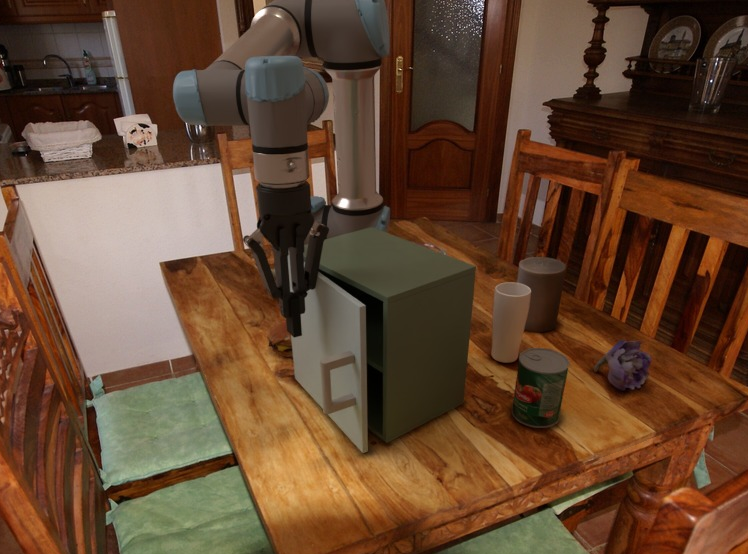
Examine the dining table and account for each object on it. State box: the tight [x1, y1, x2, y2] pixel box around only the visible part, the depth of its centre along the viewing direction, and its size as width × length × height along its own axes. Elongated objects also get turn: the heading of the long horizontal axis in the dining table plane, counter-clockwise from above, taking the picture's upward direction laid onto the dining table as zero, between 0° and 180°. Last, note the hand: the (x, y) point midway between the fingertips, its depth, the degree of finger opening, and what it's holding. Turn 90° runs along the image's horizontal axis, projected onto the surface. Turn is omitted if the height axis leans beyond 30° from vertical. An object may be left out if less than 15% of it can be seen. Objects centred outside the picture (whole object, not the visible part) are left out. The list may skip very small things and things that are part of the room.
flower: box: [593, 339, 652, 391], centre depth 105 cm, size 9×9×10 cm
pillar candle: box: [516, 256, 567, 333], centre depth 125 cm, size 10×10×15 cm
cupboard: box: [303, 227, 477, 444], centre depth 100 cm, size 18×26×26 cm
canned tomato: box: [511, 347, 570, 429], centre depth 96 cm, size 8×8×11 cm
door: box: [288, 250, 369, 454], centre depth 93 cm, size 6×26×26 cm, turn 29°
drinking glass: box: [490, 281, 531, 364], centre depth 112 cm, size 7×7×15 cm
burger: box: [266, 321, 293, 358], centre depth 120 cm, size 10×9×5 cm
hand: (294, 333), depth 91 cm, fingers closed
